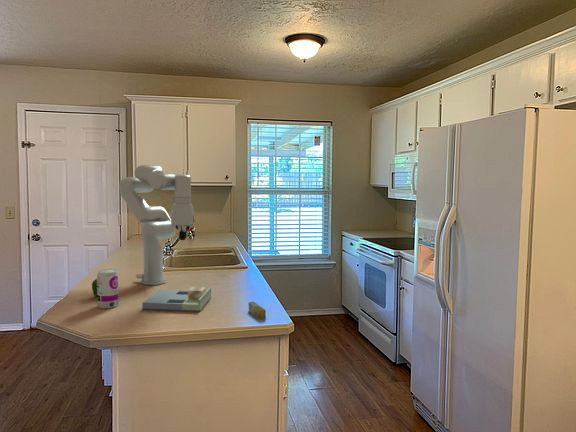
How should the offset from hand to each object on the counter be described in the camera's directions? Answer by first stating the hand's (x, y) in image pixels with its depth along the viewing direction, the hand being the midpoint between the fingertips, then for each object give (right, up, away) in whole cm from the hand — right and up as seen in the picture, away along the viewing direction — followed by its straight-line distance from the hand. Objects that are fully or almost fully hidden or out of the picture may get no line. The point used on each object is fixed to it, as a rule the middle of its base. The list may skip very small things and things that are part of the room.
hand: (182, 239), depth 206 cm
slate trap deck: (+2, -27, -18) cm, 32 cm away
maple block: (+11, -24, -19) cm, 33 cm away
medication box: (+37, -29, -31) cm, 56 cm away
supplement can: (-26, -27, -23) cm, 44 cm away
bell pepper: (-34, -26, -10) cm, 44 cm away
